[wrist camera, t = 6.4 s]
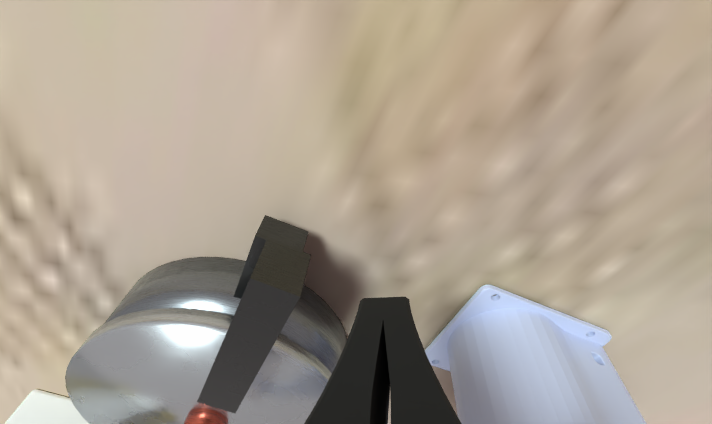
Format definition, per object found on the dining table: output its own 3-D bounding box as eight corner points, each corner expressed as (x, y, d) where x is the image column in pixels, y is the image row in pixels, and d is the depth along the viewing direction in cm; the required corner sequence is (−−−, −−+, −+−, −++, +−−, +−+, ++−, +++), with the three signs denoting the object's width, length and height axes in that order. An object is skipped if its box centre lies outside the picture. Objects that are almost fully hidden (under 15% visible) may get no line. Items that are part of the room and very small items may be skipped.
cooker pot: (305, 423, 33) (296, 475, 29) (117, 369, 30) (83, 419, 27) (420, 262, 22) (426, 314, 19) (144, 154, 19) (94, 194, 16)
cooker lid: (293, 481, 29) (285, 524, 27) (74, 422, 26) (45, 464, 24) (451, 307, 18) (461, 357, 16) (96, 165, 15) (44, 201, 13)
